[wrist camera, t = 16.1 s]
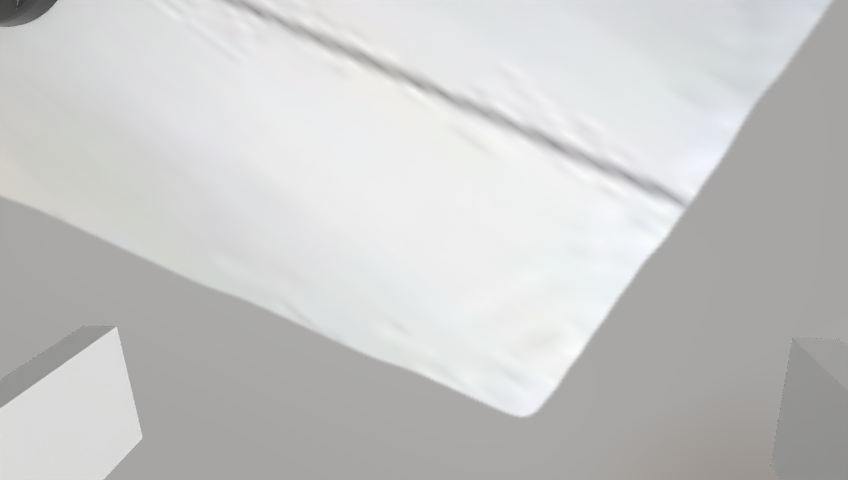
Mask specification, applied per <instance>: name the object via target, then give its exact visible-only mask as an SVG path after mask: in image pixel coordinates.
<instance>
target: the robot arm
mask: <svg viewBox="0 0 848 480" xmlns="http://www.w3.org/2000/svg"><path fill="white" fill-rule="evenodd" d="M56 1H57V0H0V27H10V26H17V25H22V24H25V23H28V22H31V21H33V20H35V19H37V18H38V17H40V16H41V15H43V14H44V13H45V12H47V11H48V10H49V9H50V8H51V7H52V6H53V5H54V3H55V2H56ZM142 438H143V437H142V433H141V429H140V425H139V420H138V416H137V412H136V407H135V403H134V399H133V395H132V390H131V386H130V382H129V378H128V373H127V369H126V365H125V360H124V356H123V352H122V348H121V343H120V339H119V335H118V331H117V327H116V326H82V327H81V328H79V329H78V330H76V331H75V332H73V333H72V334H70V335H68V336H67V337H65V338H64V339H63V340H61V341H59V342H58V343H56V344H55V345H53V346H51V347H50V348H49V349H47V350H45V351H44V352H42V353H41V354H39V355H37V356H36V357H34V358H33V359H31V360H30V361H28V362H27V363H25V364H24V365H22V366H20V367H19V368H17V369H16V370H15V371H13V372H11V373H10V374H8V375H7V376H5V377H4V378H2V379H0V480H103V479H104V478H105V477H106V476H107V475H108V474H109V473H110V472H111V471H112V470H113V469H114V468H115V467H116V466H117V464H118V463H119V462H120V461H121V460H122V459H123V458H124V457H125V456H126V455H127V454H128V453H129V451H130V450H132V448H133V447H134V446H135V445H136V444H137V443H138V442H139V441H140V440H141V439H142ZM770 466H771V468H772V469H773V471H774V472H775V474H776V475H777V477H778V478H779V480H848V346H847V345H846V344H845V343H844V342H842V341H841V340H840V339H823V338H820V339H818V338H792V343H791V349H790V355H789V361H788V366H787V372H786V378H785V384H784V390H783V395H782V401H781V407H780V413H779V419H778V425H777V430H776V436H775V442H774V449H773V454H772V459H771V465H770Z"/></svg>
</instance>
